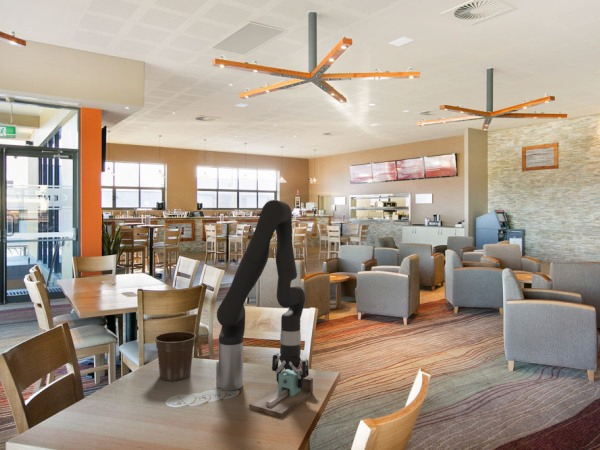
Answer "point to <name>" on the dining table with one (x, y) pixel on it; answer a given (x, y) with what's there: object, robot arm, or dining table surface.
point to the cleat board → (282, 400)
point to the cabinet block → (288, 382)
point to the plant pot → (175, 354)
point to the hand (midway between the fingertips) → (289, 385)
